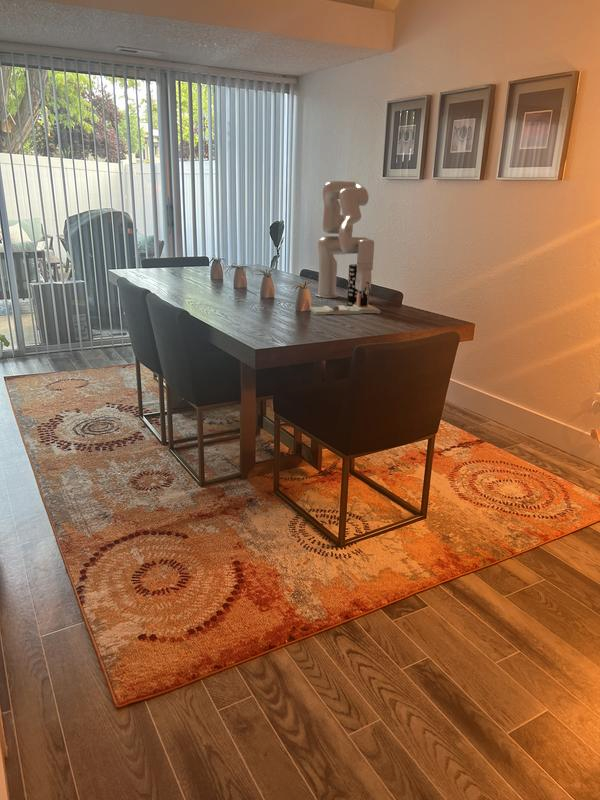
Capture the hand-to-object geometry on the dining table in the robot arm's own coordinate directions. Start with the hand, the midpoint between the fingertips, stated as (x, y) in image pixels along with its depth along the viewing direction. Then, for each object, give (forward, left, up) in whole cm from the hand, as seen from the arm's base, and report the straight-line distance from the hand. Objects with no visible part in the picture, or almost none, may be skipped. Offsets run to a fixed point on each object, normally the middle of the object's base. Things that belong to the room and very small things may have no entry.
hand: (362, 304), depth 289 cm
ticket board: (0, -9, -3) cm, 9 cm away
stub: (0, +1, -1) cm, 2 cm away
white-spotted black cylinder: (-14, +1, -3) cm, 14 cm away
